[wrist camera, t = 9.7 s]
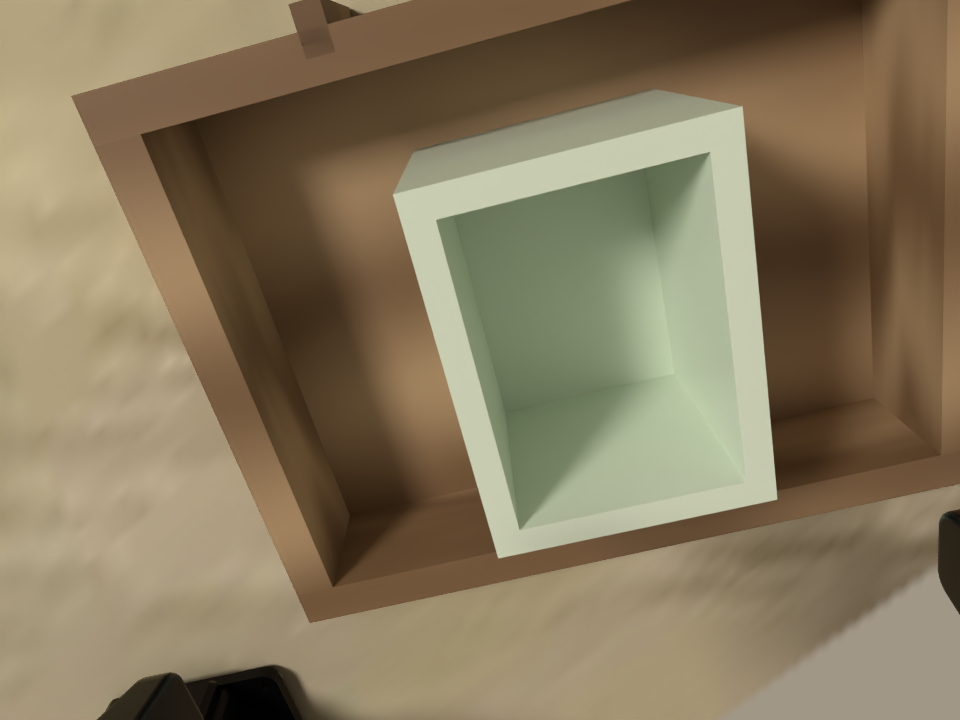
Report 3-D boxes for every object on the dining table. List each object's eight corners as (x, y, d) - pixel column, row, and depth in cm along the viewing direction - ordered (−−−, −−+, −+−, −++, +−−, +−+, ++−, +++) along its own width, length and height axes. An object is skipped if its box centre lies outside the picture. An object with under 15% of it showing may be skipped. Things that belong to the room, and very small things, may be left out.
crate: (893, 407, 22) (981, 479, 18) (333, 532, 23) (310, 622, 20) (884, -143, 16) (1008, -200, 12) (143, 65, 18) (59, 69, 14)
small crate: (692, 378, 20) (777, 499, 15) (488, 424, 21) (498, 558, 15) (652, 88, 17) (742, 106, 12) (414, 149, 18) (392, 194, 12)
